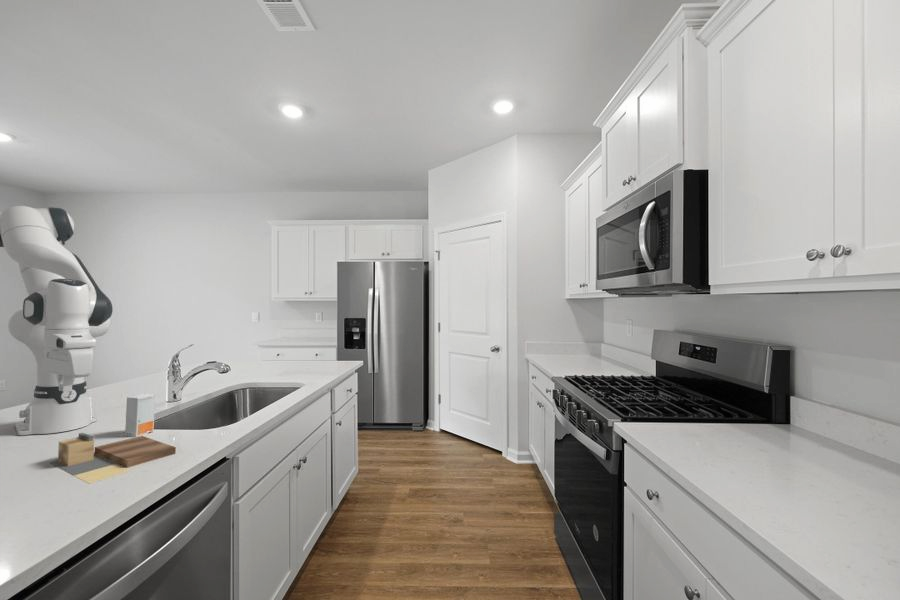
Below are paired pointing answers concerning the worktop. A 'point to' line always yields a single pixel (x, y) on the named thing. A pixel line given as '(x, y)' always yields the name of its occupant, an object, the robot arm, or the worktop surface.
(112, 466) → the strip
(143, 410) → the skincare box
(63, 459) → the light wooden block
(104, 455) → the walnut board
